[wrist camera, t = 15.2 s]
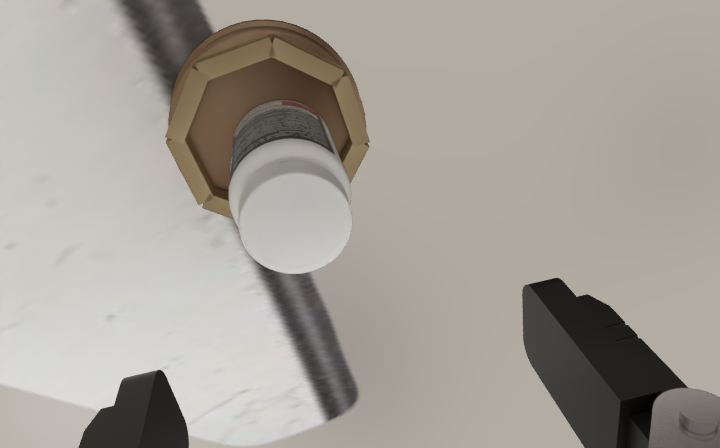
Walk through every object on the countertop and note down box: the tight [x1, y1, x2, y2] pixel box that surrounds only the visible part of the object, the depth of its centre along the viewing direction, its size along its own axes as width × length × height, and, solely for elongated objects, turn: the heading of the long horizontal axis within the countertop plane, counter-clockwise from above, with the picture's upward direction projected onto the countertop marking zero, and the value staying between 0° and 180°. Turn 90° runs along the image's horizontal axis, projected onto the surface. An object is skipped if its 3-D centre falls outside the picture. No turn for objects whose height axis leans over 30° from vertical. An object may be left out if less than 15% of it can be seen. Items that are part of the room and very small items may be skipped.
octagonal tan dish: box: [165, 20, 370, 219], centre depth 27 cm, size 10×10×4 cm
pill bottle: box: [228, 100, 352, 274], centre depth 23 cm, size 5×5×8 cm
